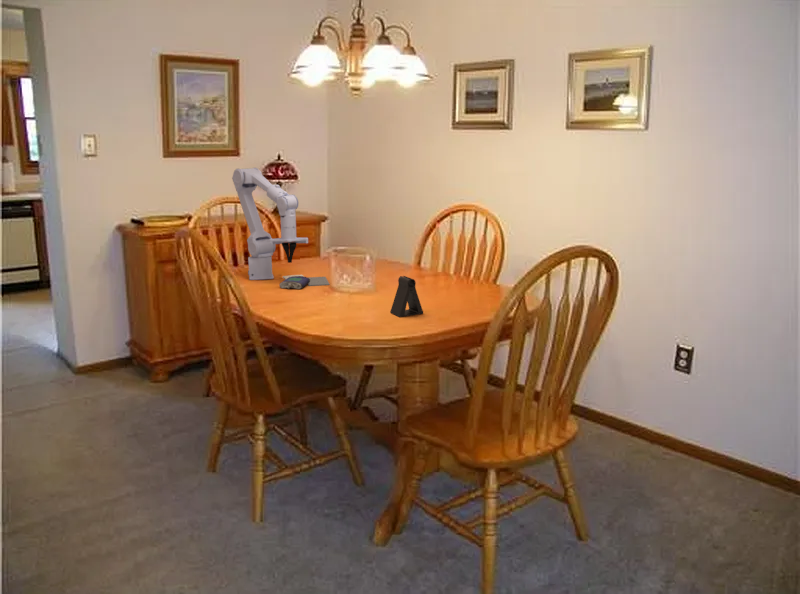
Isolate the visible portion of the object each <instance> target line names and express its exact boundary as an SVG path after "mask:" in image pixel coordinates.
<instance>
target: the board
mask: <svg viewBox="0 0 800 594" xmlns="http://www.w3.org/2000/svg"><path fill="white" fill-rule="evenodd" d="M306 277H307V276H306ZM307 278H309V279H310V282H309V283H308V284H307V285H308V287H315V286H316V287H317V286H321V287H322V286H331V285H330V284H331V283H330V282H329V280H328V278H327V277H326V276H311V277H307Z"/></svg>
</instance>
